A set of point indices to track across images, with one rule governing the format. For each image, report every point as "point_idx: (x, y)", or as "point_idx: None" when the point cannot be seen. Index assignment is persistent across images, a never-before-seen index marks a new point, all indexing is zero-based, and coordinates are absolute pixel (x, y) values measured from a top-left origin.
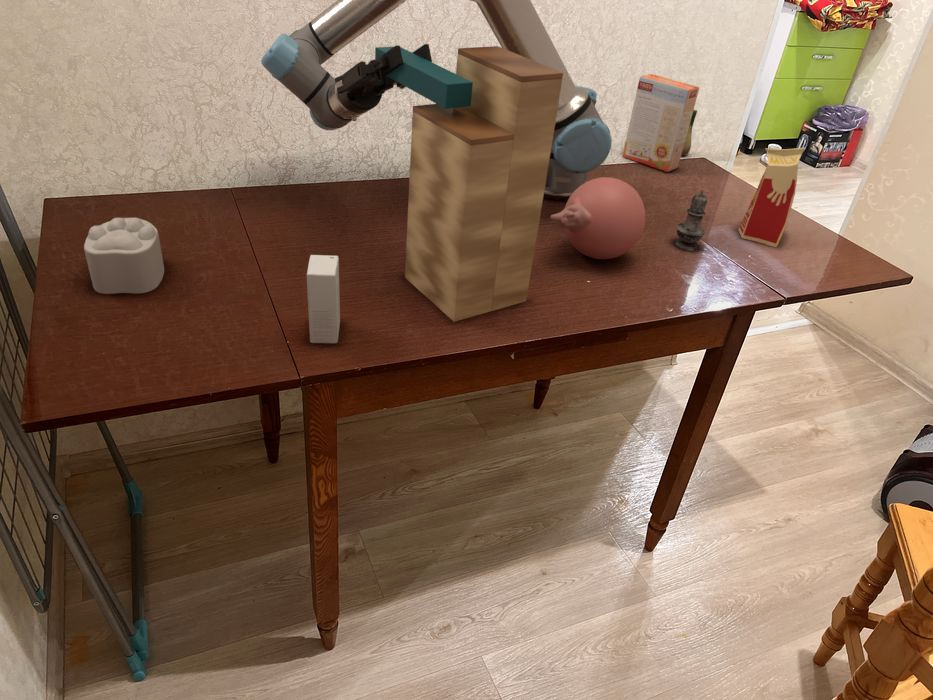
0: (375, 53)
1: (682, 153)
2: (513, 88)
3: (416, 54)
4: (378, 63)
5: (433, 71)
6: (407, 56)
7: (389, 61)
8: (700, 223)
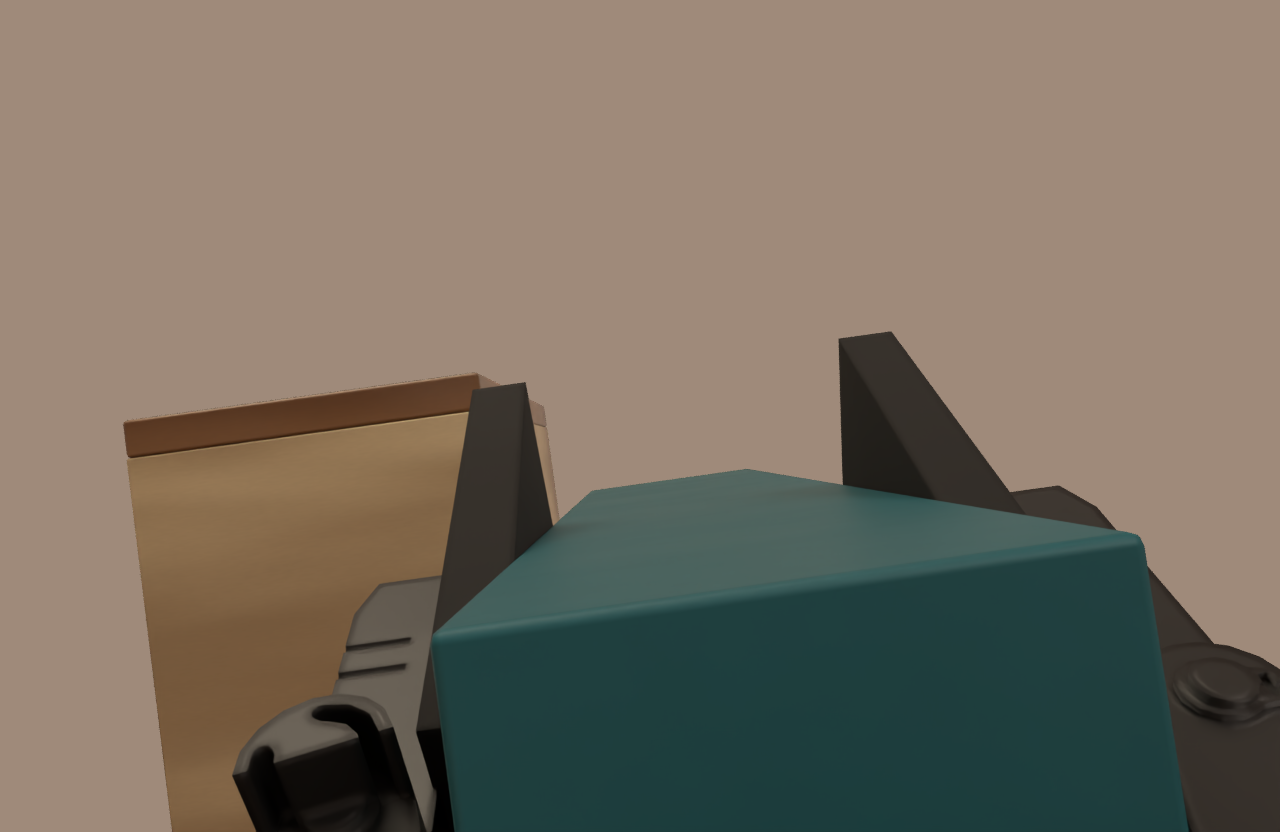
0: (1159, 672)
1: None
2: (548, 460)
3: (527, 544)
4: None
5: (704, 484)
6: (700, 517)
7: None
8: None
